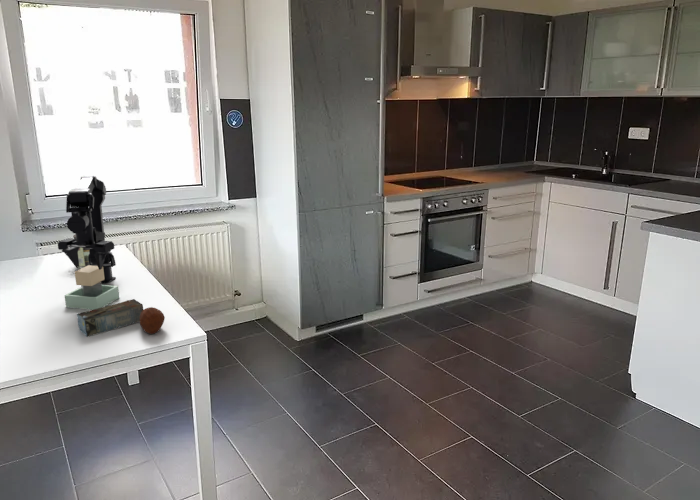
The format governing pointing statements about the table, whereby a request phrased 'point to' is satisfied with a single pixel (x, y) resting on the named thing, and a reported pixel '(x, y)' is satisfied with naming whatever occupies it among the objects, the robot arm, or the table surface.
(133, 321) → the beverage carton
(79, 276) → the tan rectangular block
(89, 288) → the tin
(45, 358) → the table surface
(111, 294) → the tote
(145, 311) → the potato
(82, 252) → the coffee can
